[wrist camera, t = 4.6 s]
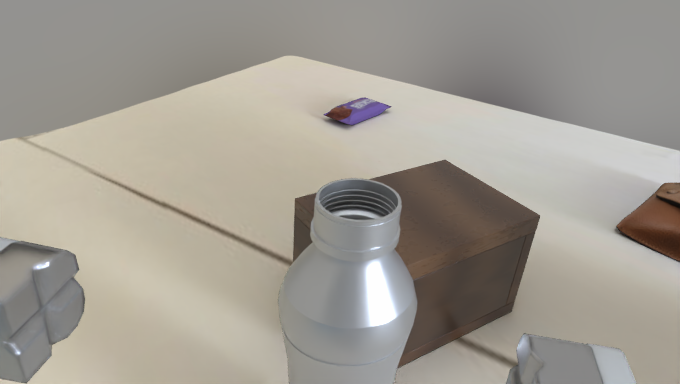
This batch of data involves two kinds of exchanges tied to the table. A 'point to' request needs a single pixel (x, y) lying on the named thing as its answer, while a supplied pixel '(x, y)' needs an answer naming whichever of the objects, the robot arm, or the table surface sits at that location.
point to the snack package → (357, 111)
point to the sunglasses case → (657, 222)
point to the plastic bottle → (348, 290)
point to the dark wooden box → (450, 250)
